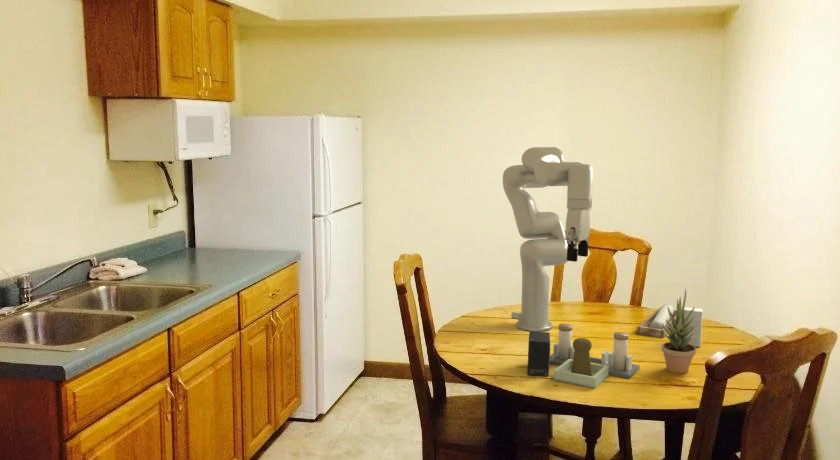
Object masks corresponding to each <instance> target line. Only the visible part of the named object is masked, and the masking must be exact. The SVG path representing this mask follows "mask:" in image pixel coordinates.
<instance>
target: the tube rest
mask: <svg viewBox="0 0 840 460" xmlns="http://www.w3.org/2000/svg"><path fill="white" fill-rule="evenodd" d="M660 308H661V307H659V308H657V309H656V310H654V311H653V313H651V314H650V315H649V316H648V317H647V318H646V319H644V320H643V321H642V322H641V323H640V324H639V325H637V330H636V334H638V335H644V336H650V337H657V338H665V337H666V336H665V335H664V334H666V335H667V336H668V333H667V332H666V331H665V329H664V328H663V329H655V328H650V326H651V323H652V321H653V320H654V318H655V317H656V315H657V313H658V312H659V310H660ZM676 311H677V309H676V310H675V309H674V315H673V317H674V319H675V320H676ZM669 323H670V324H671V325H672V322H671V320H670V321H669ZM667 326H668V324H667ZM672 326H673V325H672ZM668 327H669V326H668ZM665 328H666V329H667V330H668V328H667V327H666V326H665ZM668 331H669V330H668ZM669 333H670V331H669Z"/></svg>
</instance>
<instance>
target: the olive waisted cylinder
mask: <svg viewBox="0 0 840 460" xmlns="http://www.w3.org/2000/svg"><path fill="white" fill-rule="evenodd" d="M572 346H573V348H574V350H575V351H574V357H573V363H572V368H571V372H572V373H577V374H582V375H587V376H592V373H591V363H592V362H591V361H590V357H591V356H590V355H591V353H590V351H591V349H592V347H593V346H592V342H591V340H590V339H588V338H586V337H585V338H584V337H578V338H575V339H574V341H572Z"/></svg>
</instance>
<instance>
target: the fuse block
mask: <svg viewBox="0 0 840 460" xmlns="http://www.w3.org/2000/svg"><path fill="white" fill-rule="evenodd" d="M573 329H574V327H573V324H570V323H559V324H558V342H555V343H554V344H553V350H552V351H553V353H552V354H550V364H549V365H554V366H558V367H559V366H560V365H562V364H563V363H564V362H565V361H567V360H568V359H573V357H574V351H575V350H574V348H573ZM629 337H630V336H629V333H627V332H625V331H624V332H622V331H618V332H617V331H616V332H614V333H613V351H609V350H607V349H605V350H604V351H603V352H602V353H601V358H599V357H593V356H590V362H591V363H597V364H601V365H606V366H609V371H608V376H613V377H619V378H624V379H628V380H629V379H630V380H631V379H632V377H633V376H634V375H635V374H636V373H638V371H639V370H640V367H641V366H640V365H639V364H635V363H634V364H633V354H628V351H629V349H628V348H629Z"/></svg>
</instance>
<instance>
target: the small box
mask: <svg viewBox="0 0 840 460" xmlns="http://www.w3.org/2000/svg"><path fill="white" fill-rule="evenodd" d="M528 332H529V334H528V345H527V346H528V351H527V352H528V353H527V354H528V355H527V367H526V370H527V371H526V372H527V373H526V375H527V376H539V377H549V373H550V365H551V364H550V356H551V335H550V334H551V333H550V331H549V332H546V331H528Z"/></svg>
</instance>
